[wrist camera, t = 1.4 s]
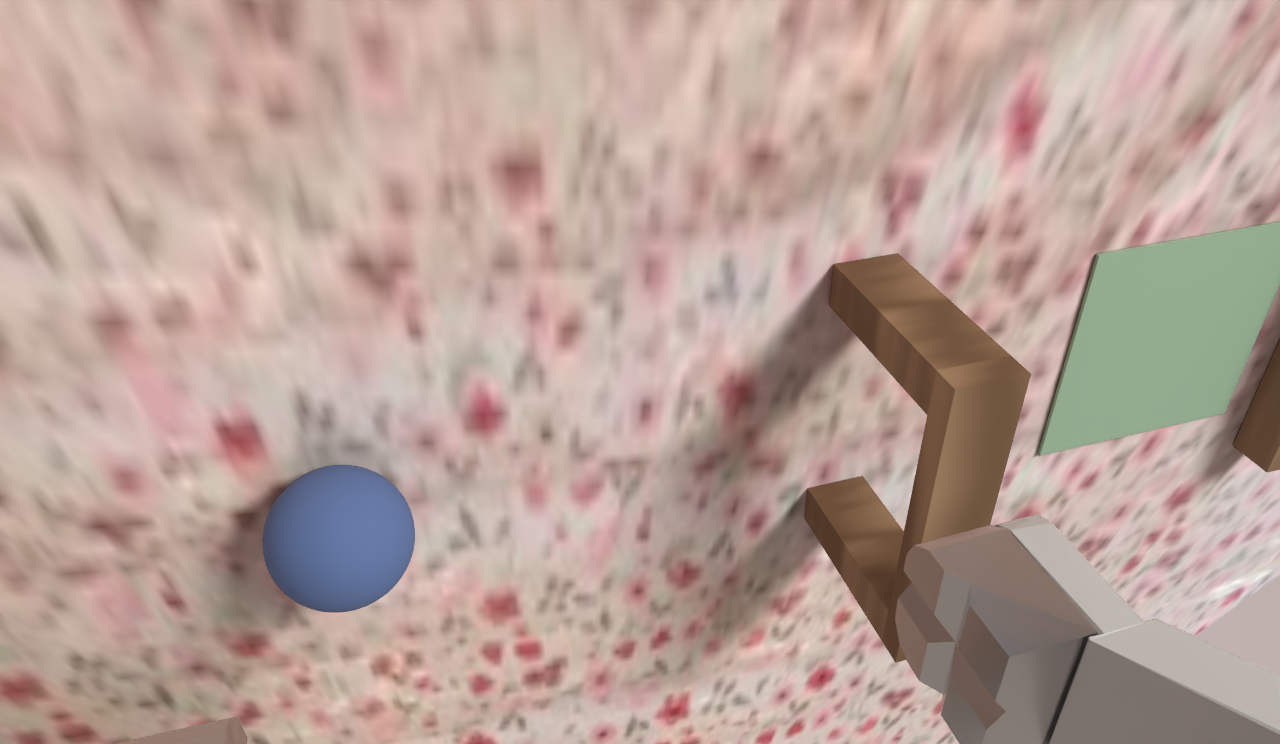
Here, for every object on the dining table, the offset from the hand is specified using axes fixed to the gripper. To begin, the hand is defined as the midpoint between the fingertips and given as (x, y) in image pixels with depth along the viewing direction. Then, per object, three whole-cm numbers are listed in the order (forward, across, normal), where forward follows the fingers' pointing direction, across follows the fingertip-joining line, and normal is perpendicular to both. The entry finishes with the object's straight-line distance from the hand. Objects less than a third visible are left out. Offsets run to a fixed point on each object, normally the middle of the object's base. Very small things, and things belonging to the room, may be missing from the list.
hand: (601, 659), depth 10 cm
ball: (+22, +6, +18) cm, 29 cm away
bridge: (+25, -18, +19) cm, 36 cm away
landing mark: (+25, -36, +20) cm, 48 cm away
